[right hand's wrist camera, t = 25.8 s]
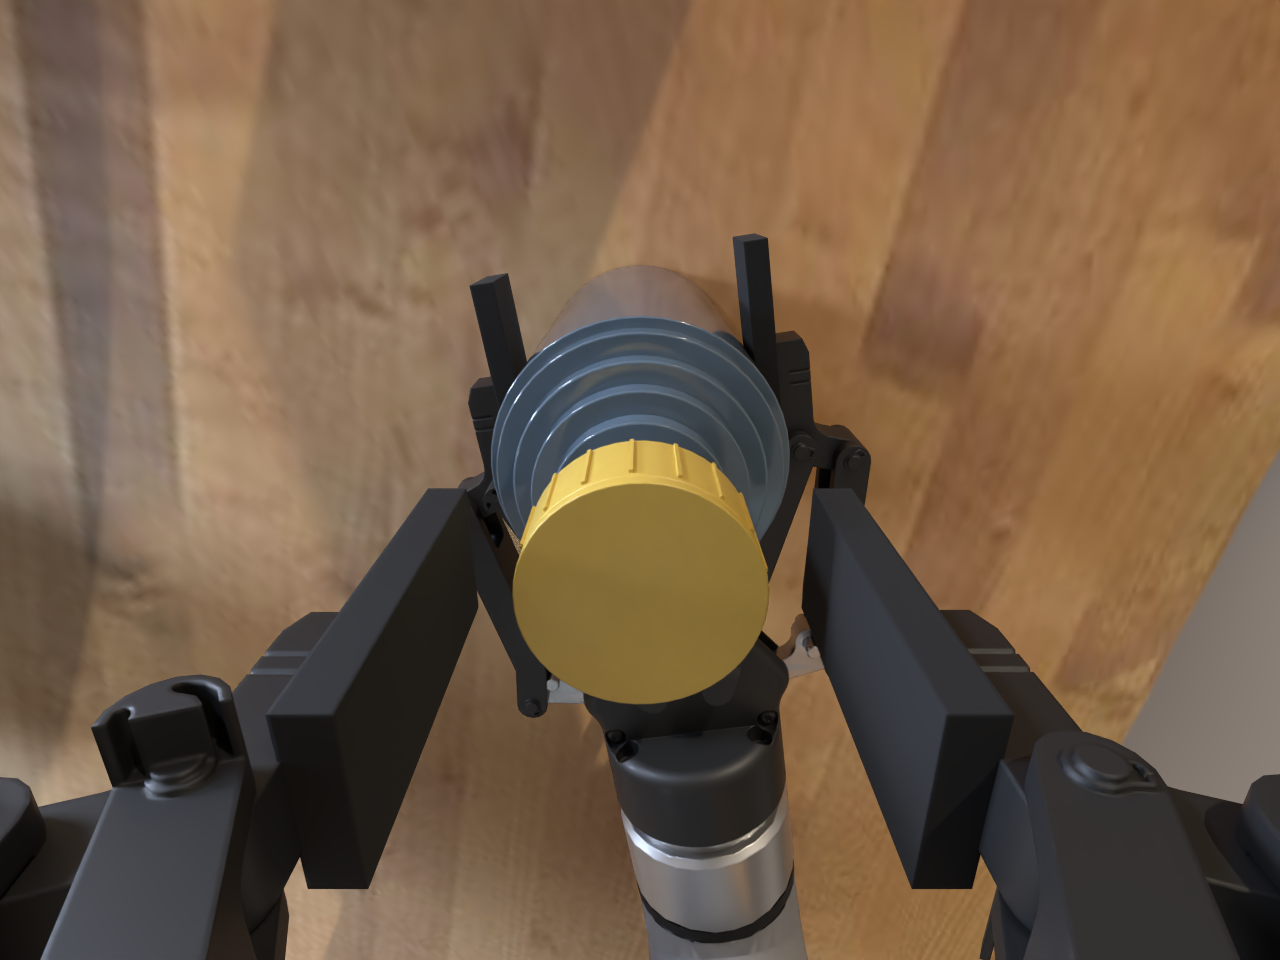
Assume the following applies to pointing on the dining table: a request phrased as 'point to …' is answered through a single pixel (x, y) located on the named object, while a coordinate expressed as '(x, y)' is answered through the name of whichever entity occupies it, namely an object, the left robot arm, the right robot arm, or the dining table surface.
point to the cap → (640, 574)
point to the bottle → (640, 392)
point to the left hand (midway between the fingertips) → (618, 259)
